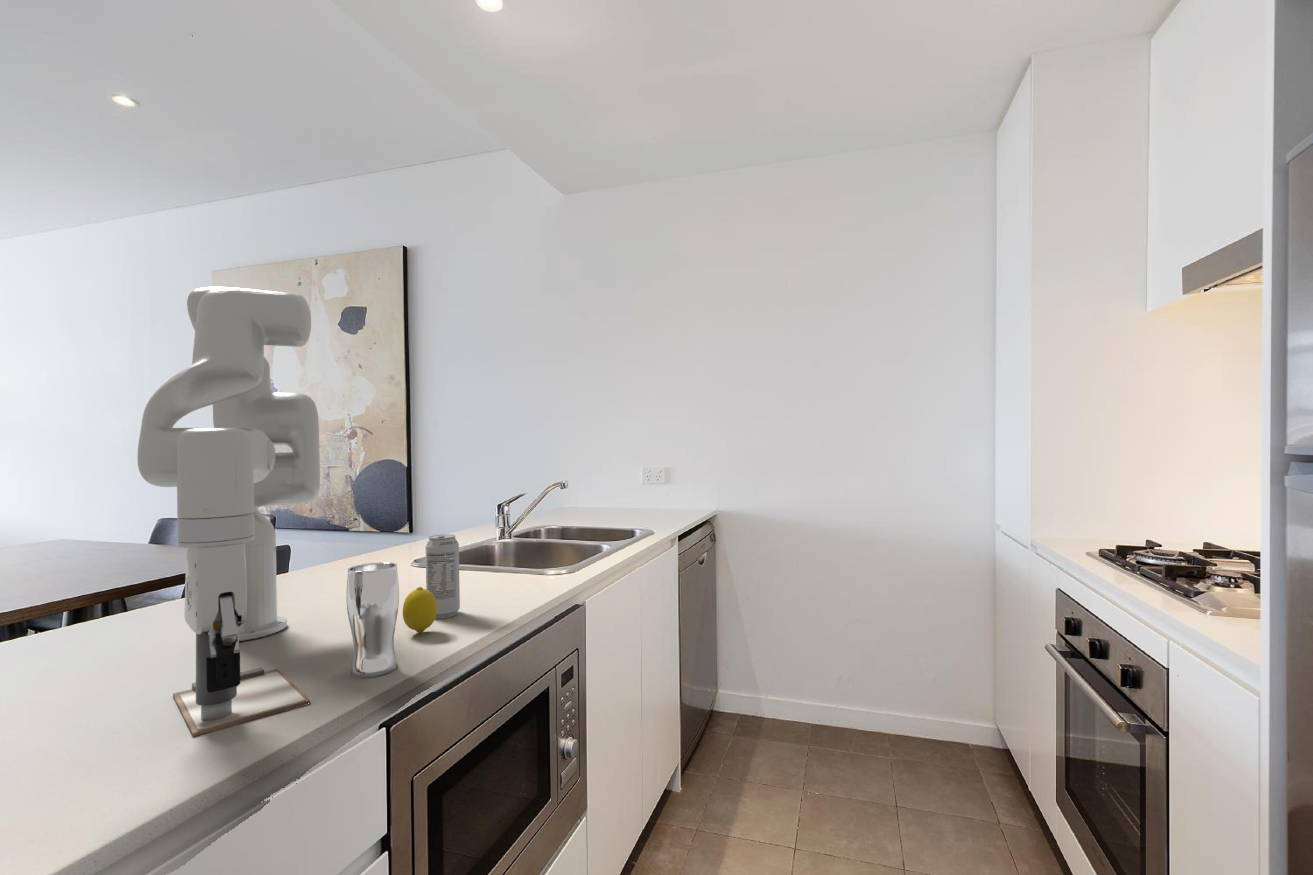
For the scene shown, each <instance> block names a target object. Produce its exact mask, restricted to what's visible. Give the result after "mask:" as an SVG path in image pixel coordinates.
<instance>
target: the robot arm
mask: <svg viewBox="0 0 1313 875" xmlns="http://www.w3.org/2000/svg"><path fill="white" fill-rule="evenodd" d="M186 307H187V309H186V310H187V313H188V317H189V320H190V322H191V324H192V327H193V330H194V339H193V341H194V342H193V349H192V351H193V352H192V359H191V360H192V362H191V365H189V366H187V367H186V368H184V369H183V370H181V371H179V372H178V373H176V374H174V375H173V376H172V377H170V378H169V379H168V380H167V381H165V383H163V384H161V385H160V387H159V388H158V389H157V390H155V392H154V394H152V396H150V399H149V400H148V401H147V403H146V405H145V407H144V411H143V415H142V419H141V428H140V431H139V437H138V438H139V439H138V445H137V467H138V472H139V473H140V475H141V477H142V478H143V480H144V481H145V482H147V483H148V484H150V485H153V486H156V487H160V488H176V502H177V503H176V505H177V506H176V507H177V510H176V512H177V547H178V548H184V549H186V560H185V561H186V562H185V585H184V586H185V588H184V589H185V590H184V621H185V623H186V624H187V625H188V627H189V628H190V629H191V631H192V632H194V633H195V634H196V633H197V634H203V630H208V642H209V657H207V658H206V689H207V691H208V692H210V693H211V692H215V691H220V690H224V689H228V688H232V687H236V686H238V685H239V684H240V672H241V651H240V642H243V641H249V640H254V639H259V638H263V637H268V636H270V635H274V634H275V633H276V634H277V633H278V632H280V631H282V630H284V629H285V628H287V626H288V619H287V618H286V617H284V616H280V615H278V605H277V604H278V603H277V602H278V600H277V598H278V596H277V594H278V593H277V592H278V591H277V589H278V588H277V584H278V583H277V535H276V530H275V527H274V525H273V523H272V522H271V521H270V520H269V519H268V518H267V517H266V516H265V515H263V514H262V512H260V511H259V510H258V508H260V507H267V506H269V507H270V506H283V505H284V506H285V505H288V506H289V505H299V504H300V505H301V504H307V503H311V502H312V501H314V500H315V499H317V497H318V495H319V491H320V487H321V474H320V473H321V469H320V468H321V464H320V457H321V456H320V426H319V425H320V423H319V413H318V408H317V406H316V402H315V401H314V400H313V399H312V397H311V396H309V395H307V394H304V393H301V392H300V393H299V392H276V391H273V390H272V388H271V367H270V364H269V361H268V359H267V358H266V357H265V355H264V354H265V346H274V347H275V346H276V347H277V346H278V347H291V348H292V347H299V348H301V347H303V346H305V345H306V344H307V342H308V341H309V338H310V336H311V331H312V315H311V309H310V305H309V303H308V301H307V300H306V298H305V297H304V296H303V295H302V294H298V293H292V292H285V291H284V292H283V291H275V290H274V291H273V290H265V289H253V288H245V287H244V288H242V287H241V288H240V287H227V286H207V287H199V288H195V289H194V290H192V291H191V292H189V294H188V296H187V299H186ZM208 406H212V422H213V427H174V426H175V425H176V424H177V422H178V421H180V420H181V419H182V418H184V417H185V416H187V415H188V414H190V413H193V412H194V411H197V410H200V409H202V408H205V407H208ZM275 446H288V447H289V448H290V449H291V451H292V452H291V451H290V452H289V451H288V452H276V447H275ZM237 613H238V616H237ZM219 623H221V628H219V629H214V630H213V624H219ZM216 634H221V636H220V637H218V638H217V640H216V638H215V635H216Z"/></svg>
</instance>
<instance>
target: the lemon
mask: <svg viewBox="0 0 1313 875" xmlns="http://www.w3.org/2000/svg"><path fill="white" fill-rule="evenodd" d="M436 614H437V605H436V600H435V597H434V595H433V594H432V593H431V592H430V591H428V590H426V588H423V587H422V586H418V587H416V589H414V590H412V591H411V592H410V593H408V594H407V596H406V597H405V599H404V601H403V605H402V618H403V622H404V623H405V625H406V626H407V628H409V629H411V630H413V631H416V633H418V634H422V633H423V632H424V631H425V630H427V629H428V628H430V627H431V626H432V625H433V624H434V622H435V620H436V619H437V618H436Z"/></svg>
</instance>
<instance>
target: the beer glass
mask: <svg viewBox="0 0 1313 875" xmlns="http://www.w3.org/2000/svg"><path fill="white" fill-rule="evenodd" d="M346 578H347V579H346V592H345V593H346V595H345V597H346V599H345V600H346V610H347V616H348V622H349V628H350V631H351V636H352V641H353V642H352V643H353V658H352V664H351V669H350V674H351V675H352V676H353V677H355V678H361V679H362V678H366V679H367V678H374V677H375V678H376V677H380V676H384V675H388V674H389V673H391V672H393V671H394V670H396V668H397V667H398V664H397V659H396V658H397V657H396V655H395V654H396V652H395V644H394V642H395V641H394V639H395V631H396V625H397V620H398V612H399V604H400V587H399V586H400V585H399V575H398V564H397V563H396V562H395V563H394V562H389V561H388V562H387V561H385V562H384V561H382V562H381V561H380V562H370V563H369V562H368V563H362V564H357V565H353V566H351V567H349V568H347V576H346Z"/></svg>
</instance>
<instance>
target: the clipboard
mask: <svg viewBox="0 0 1313 875" xmlns="http://www.w3.org/2000/svg"><path fill="white" fill-rule="evenodd" d="M172 698H173V700H174V702H175V703H176V706H177V707H178V710H179V712H180V714H181V716H182V718H183V720H184V722H185V723H186V726H187V728H188V730H189V732H190V734H191V736H192V738H194V737H197V736H199V735H200V736H201V735H204V734H206V733H207V734H208V733H210V732H214V731H218V730H221V729H225V728H229V727H232V726H235V725H240V724H243V723H247V722H250V721H253V720H257V719H260V718H261V719H262V718H263V717H264V718H265V717H268V716H271V715H274V714H278V713H281V712H286V711H289V710H292V709H296V708H299V706H300V707H303V706H306V705H305V704H307V705H309V704H308V703H310V704H311V700H310V699H309V697H308V696H306V695H305V693H303V691H301V690H300V688H298V687H297V686H296V685H295V684H294V683H293V681H291V680H290V679H289V678H288V677H287V676H286V675H285V674H283V672H282V671H281V670H279V669H278V668H275V669H270V670H265V669H264V668H263V667H262V666H261V667H257V668H252V669H248V670H244V671H240V684H239V685H238V686H237V695H236V697H235V698H233V699H232V713H231V714H230V715H228V716H226V717H224V718H221V719H217V720H212V721H204V720H201V705H197V704H196V682H193V683H191V689H186V690H183V691H179V692H174V693H172Z"/></svg>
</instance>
